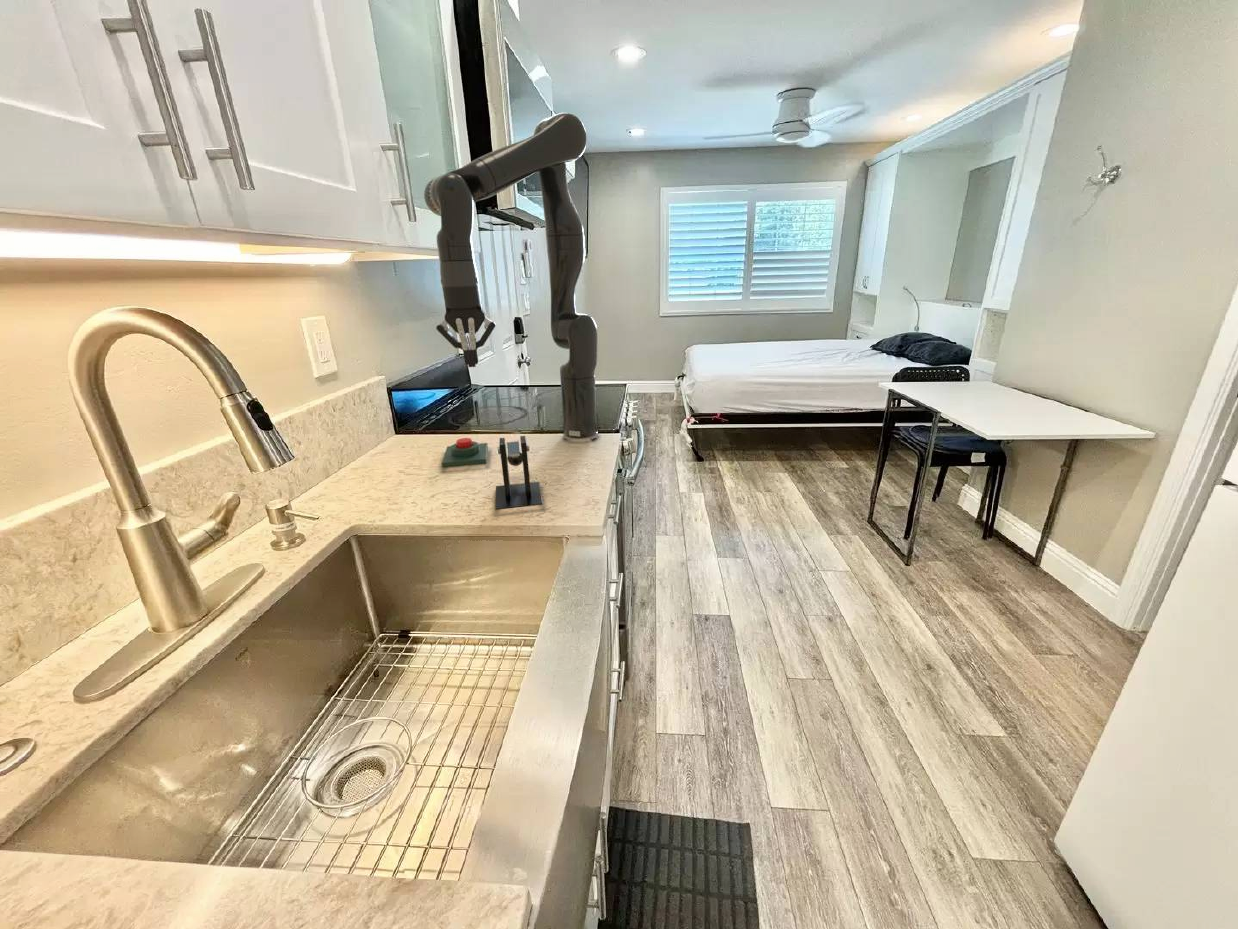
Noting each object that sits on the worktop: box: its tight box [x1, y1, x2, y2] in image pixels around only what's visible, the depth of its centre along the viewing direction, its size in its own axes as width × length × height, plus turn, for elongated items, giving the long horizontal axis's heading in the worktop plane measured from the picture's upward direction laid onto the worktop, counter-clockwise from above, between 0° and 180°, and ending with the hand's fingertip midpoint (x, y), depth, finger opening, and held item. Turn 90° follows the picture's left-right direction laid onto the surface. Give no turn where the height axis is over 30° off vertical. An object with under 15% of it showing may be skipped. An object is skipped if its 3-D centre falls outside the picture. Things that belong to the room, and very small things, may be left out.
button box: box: [441, 440, 489, 469], centre depth 121 cm, size 12×10×4 cm
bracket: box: [494, 435, 543, 511], centre depth 98 cm, size 11×9×13 cm
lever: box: [506, 440, 523, 467], centre depth 101 cm, size 14×3×3 cm, turn 12°
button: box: [455, 437, 473, 449], centre depth 120 cm, size 4×4×2 cm
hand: (472, 366), depth 110 cm, fingers closed
